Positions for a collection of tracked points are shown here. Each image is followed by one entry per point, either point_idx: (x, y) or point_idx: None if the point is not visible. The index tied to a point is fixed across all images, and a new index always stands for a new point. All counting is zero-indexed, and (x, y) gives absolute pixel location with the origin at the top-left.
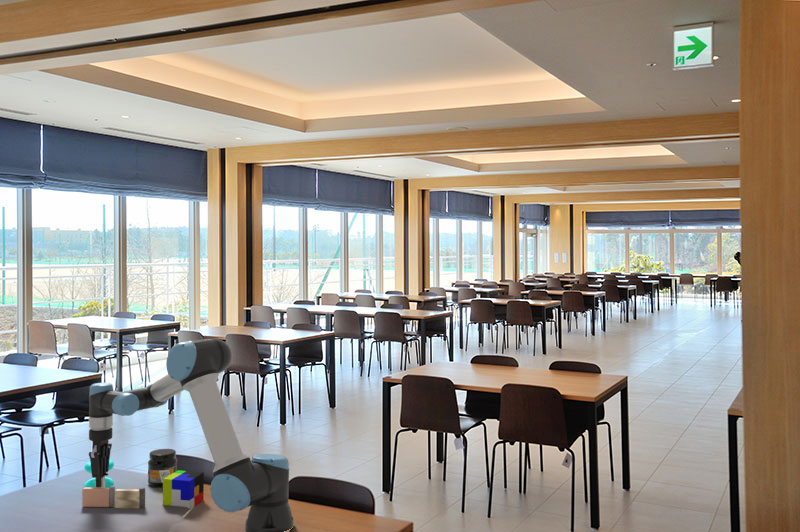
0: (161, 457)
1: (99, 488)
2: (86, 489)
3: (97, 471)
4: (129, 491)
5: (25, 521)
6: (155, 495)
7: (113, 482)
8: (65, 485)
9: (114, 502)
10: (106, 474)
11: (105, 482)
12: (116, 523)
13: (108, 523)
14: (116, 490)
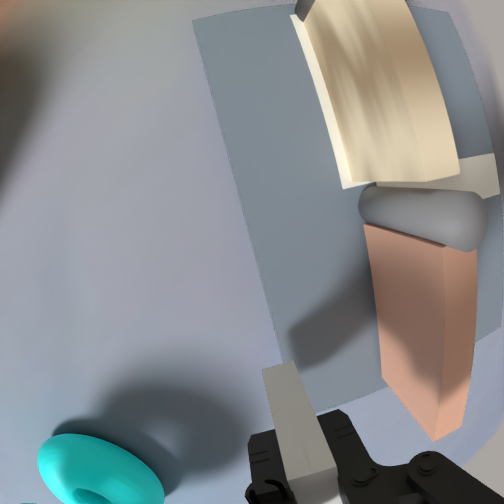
0: None
1: (464, 334)
2: (461, 405)
3: (485, 491)
4: (414, 32)
5: (486, 418)
6: (40, 117)
7: (47, 444)
8: None
9: (383, 187)
10: (288, 488)
11: (93, 471)
12: (480, 73)
13: (492, 108)
14: (454, 158)
